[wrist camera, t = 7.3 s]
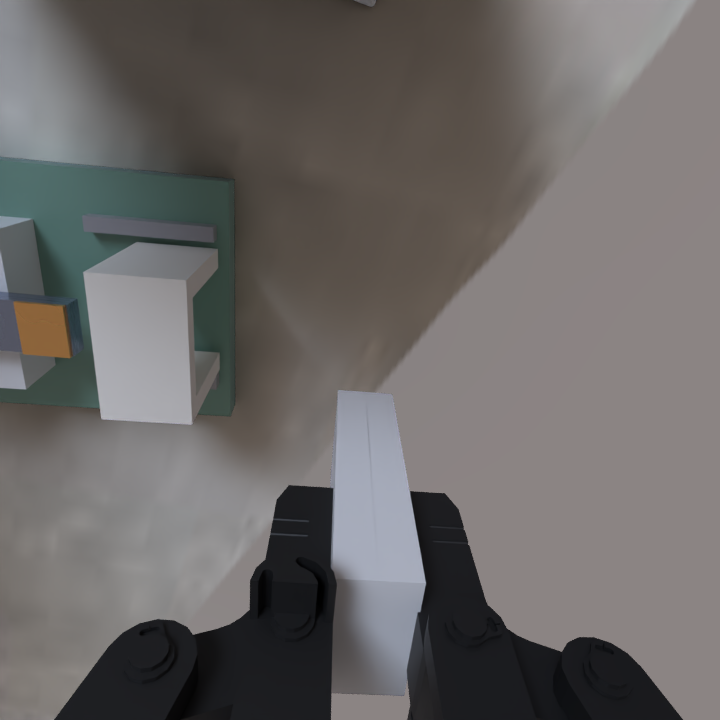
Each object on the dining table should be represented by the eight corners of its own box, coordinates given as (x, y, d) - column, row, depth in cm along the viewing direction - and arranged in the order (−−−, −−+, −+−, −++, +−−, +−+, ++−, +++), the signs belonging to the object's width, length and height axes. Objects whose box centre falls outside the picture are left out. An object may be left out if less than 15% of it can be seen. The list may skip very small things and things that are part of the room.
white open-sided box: (146, 363, 23) (101, 419, 19) (137, 241, 21) (83, 272, 16) (219, 368, 23) (191, 424, 19) (217, 248, 21) (185, 280, 17)
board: (-86, 383, 25) (-187, 444, 20) (-154, 142, 20) (-304, 146, 16) (235, 404, 26) (211, 466, 21) (234, 179, 21) (204, 193, 17)
